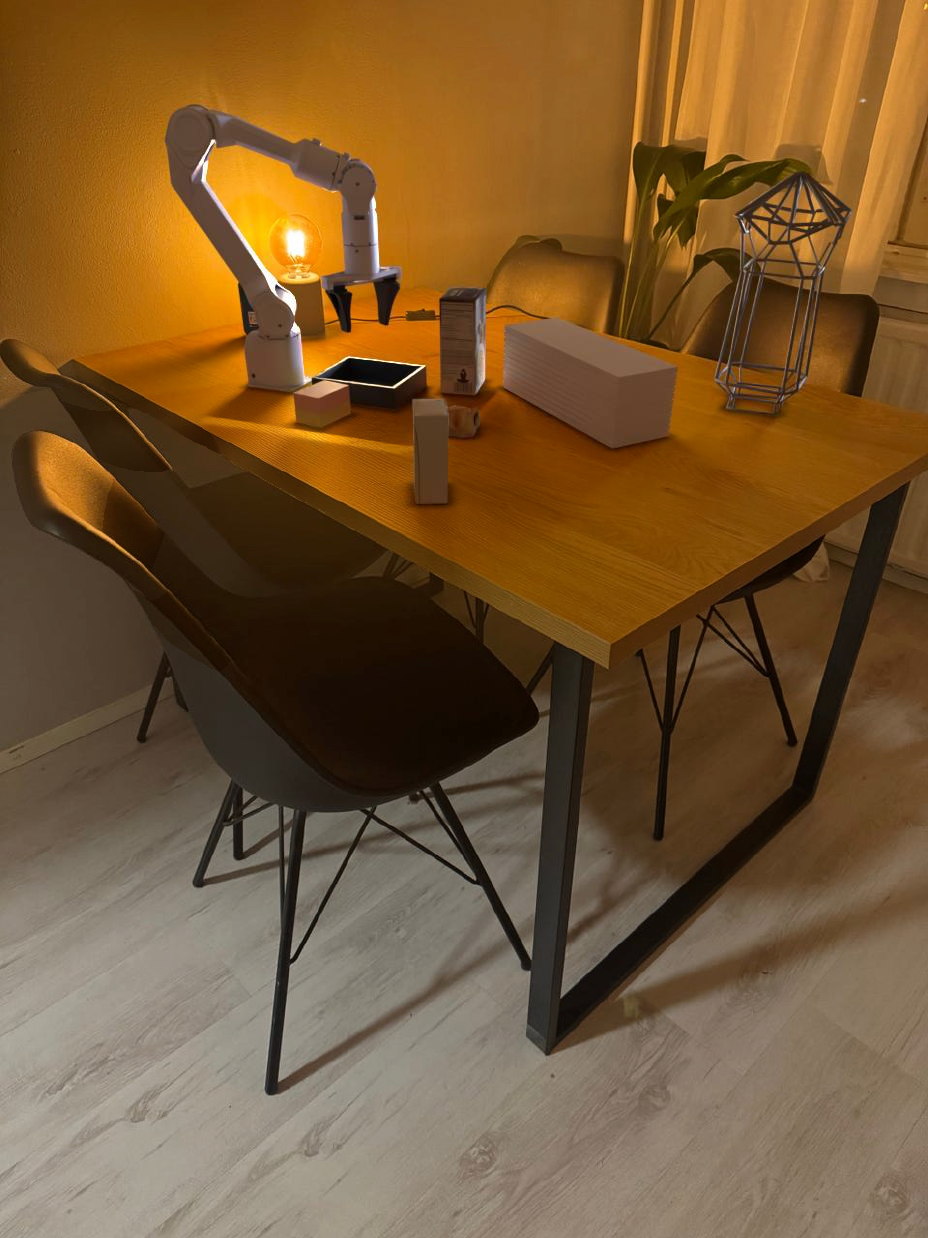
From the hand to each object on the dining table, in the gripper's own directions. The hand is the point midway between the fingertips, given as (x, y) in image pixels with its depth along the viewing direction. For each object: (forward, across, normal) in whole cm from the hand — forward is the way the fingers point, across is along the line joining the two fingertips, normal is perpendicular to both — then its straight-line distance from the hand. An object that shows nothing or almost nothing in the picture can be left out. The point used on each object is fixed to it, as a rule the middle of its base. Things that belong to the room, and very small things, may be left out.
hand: (365, 327), depth 151 cm
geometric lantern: (+10, -45, +50) cm, 68 cm away
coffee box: (+10, -12, +13) cm, 20 cm away
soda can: (+10, +2, -39) cm, 40 cm away
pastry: (+10, +2, +28) cm, 30 cm away
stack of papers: (+10, -20, +34) cm, 40 cm away
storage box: (+9, +3, +6) cm, 12 cm away
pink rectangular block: (+9, +16, +12) cm, 22 cm away
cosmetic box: (+10, +19, +46) cm, 50 cm away
